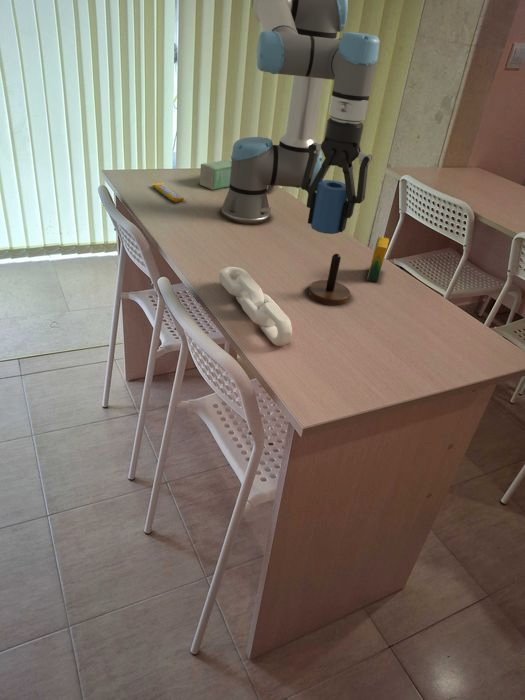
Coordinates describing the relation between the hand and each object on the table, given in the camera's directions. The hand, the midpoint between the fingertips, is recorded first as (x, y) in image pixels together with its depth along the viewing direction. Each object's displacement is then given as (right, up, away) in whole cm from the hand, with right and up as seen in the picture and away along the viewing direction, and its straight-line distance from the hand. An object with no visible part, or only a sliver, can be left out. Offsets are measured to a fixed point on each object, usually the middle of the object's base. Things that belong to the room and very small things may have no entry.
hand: (326, 225), depth 123 cm
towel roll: (0, 0, 0) cm, 1 cm away
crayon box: (+15, -9, +22) cm, 28 cm away
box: (-30, +31, +70) cm, 83 cm away
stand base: (+2, -15, +10) cm, 18 cm away
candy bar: (-46, +23, +56) cm, 76 cm away
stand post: (+2, -14, +9) cm, 16 cm away
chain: (-17, -20, -2) cm, 26 cm away
